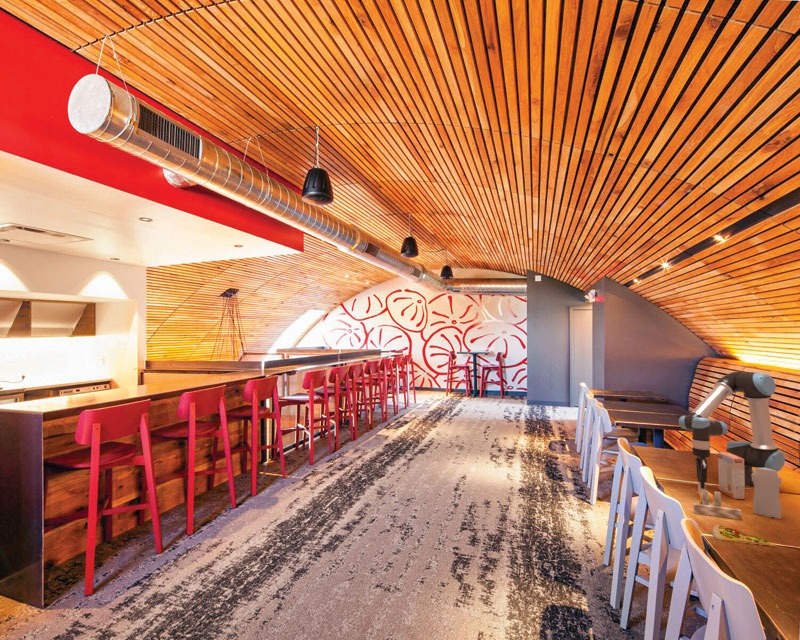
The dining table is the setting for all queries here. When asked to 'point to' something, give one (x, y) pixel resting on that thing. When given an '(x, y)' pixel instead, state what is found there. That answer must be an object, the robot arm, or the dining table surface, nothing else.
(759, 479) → the tall pale column
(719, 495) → the pin
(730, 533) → the pizza slice
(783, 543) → the dining table surface
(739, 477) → the cracker box
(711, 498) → the ball
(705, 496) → the pin
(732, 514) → the back wall
